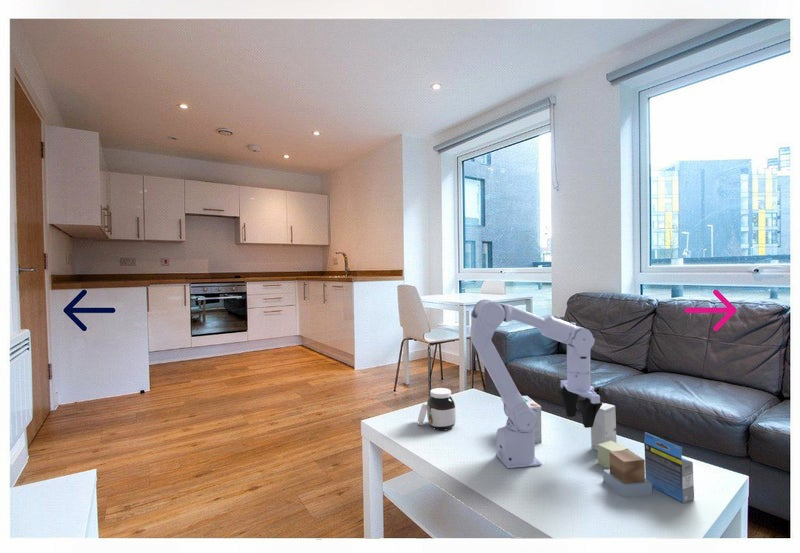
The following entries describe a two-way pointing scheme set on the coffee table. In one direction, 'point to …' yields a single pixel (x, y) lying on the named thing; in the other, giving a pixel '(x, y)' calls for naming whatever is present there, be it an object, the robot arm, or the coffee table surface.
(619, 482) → the base slab
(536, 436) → the light bulb box
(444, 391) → the spread jar
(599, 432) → the skincare box
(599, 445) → the olive cube
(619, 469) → the walnut cube
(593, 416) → the robot arm
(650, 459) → the label tape box
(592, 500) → the coffee table surface
